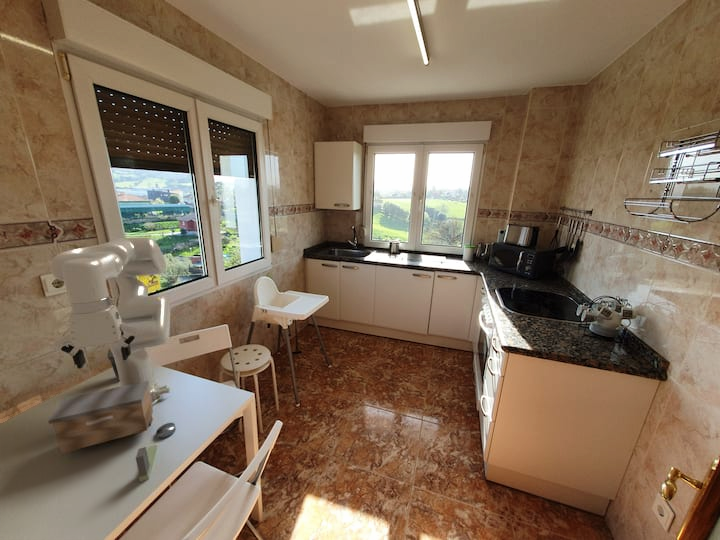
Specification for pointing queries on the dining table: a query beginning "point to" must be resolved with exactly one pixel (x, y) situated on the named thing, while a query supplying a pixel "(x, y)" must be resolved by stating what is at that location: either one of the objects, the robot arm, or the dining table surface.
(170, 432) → the grey rounded piece
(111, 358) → the beverage cup
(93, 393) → the walnut cabinet
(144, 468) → the scraper tool
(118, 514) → the dining table surface
